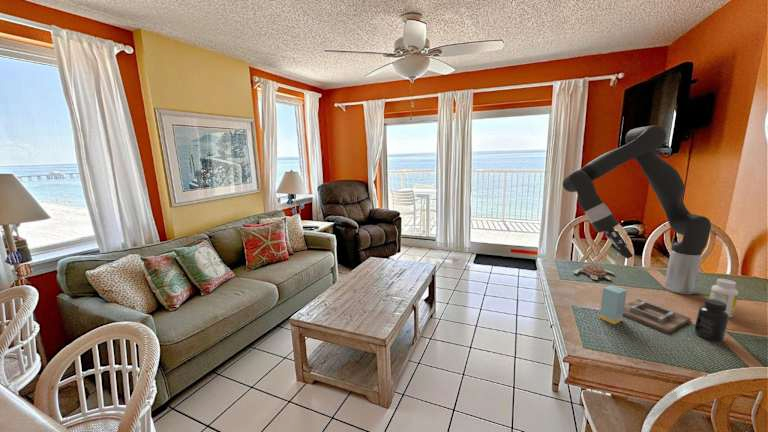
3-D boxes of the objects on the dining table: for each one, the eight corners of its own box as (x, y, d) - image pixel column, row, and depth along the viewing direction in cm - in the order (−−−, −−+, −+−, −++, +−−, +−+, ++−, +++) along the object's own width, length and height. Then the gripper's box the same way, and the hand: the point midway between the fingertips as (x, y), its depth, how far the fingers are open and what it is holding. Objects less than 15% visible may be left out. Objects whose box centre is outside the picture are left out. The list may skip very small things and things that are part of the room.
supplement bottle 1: (725, 310, 115) (732, 278, 113) (738, 319, 109) (746, 285, 106) (702, 307, 117) (709, 276, 115) (713, 316, 111) (721, 283, 109)
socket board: (637, 301, 123) (638, 295, 123) (690, 320, 109) (691, 314, 108) (614, 311, 116) (615, 305, 116) (667, 333, 102) (668, 326, 102)
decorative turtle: (603, 268, 157) (604, 259, 156) (624, 282, 141) (626, 272, 140) (565, 268, 159) (566, 259, 158) (582, 282, 143) (583, 272, 142)
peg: (607, 314, 115) (611, 284, 112) (622, 320, 110) (626, 290, 108) (599, 317, 113) (603, 287, 110) (614, 324, 108) (618, 293, 106)
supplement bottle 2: (730, 343, 97) (738, 308, 94) (704, 341, 98) (712, 307, 95) (712, 330, 103) (719, 298, 101) (688, 328, 105) (695, 296, 102)
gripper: (614, 212, 108) (643, 253, 104) (609, 213, 121) (635, 250, 116) (591, 222, 112) (619, 263, 107) (589, 222, 124) (614, 258, 120)
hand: (627, 256), depth 112 cm, fingers open, 8 cm apart
